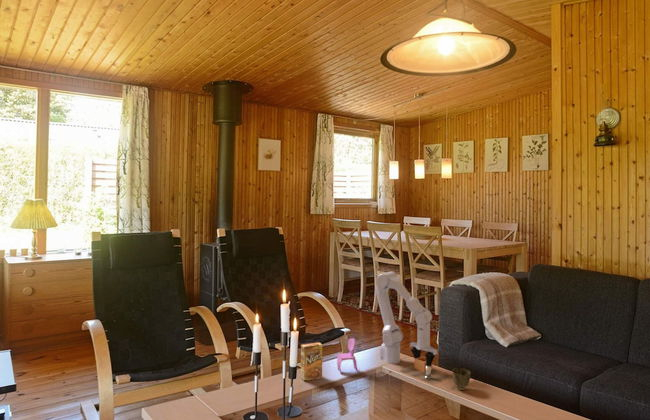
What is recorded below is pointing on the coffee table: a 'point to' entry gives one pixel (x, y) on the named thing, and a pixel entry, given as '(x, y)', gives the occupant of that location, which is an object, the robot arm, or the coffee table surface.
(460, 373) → the cup
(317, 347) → the candy box
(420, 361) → the collar
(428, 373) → the post
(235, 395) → the coffee table surface
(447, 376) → the board
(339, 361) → the toy chair
